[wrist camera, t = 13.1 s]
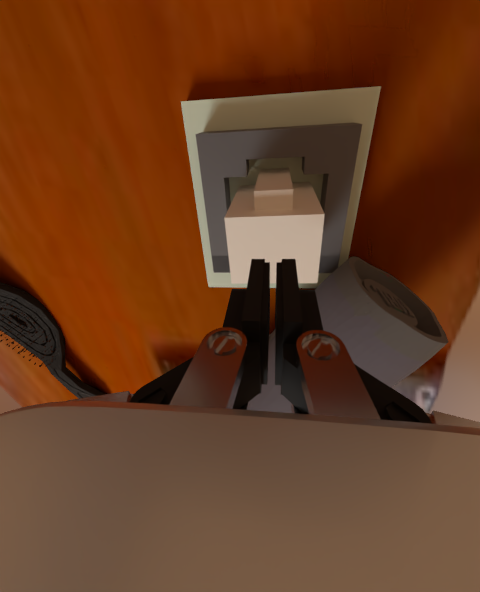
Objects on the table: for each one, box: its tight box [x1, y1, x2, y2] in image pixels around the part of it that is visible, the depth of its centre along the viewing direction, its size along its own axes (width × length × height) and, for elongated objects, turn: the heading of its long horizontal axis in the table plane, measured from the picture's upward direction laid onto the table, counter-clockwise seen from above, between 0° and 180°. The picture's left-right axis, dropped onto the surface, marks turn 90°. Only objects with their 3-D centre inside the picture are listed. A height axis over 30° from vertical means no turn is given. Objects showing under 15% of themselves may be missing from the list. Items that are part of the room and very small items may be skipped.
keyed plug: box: [224, 168, 325, 284], centre depth 17 cm, size 5×5×7 cm
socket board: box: [181, 86, 381, 288], centre depth 20 cm, size 14×12×3 cm
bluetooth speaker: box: [250, 256, 448, 413], centre depth 25 cm, size 23×9×10 cm, turn 152°
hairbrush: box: [0, 282, 106, 399], centre depth 34 cm, size 8×4×25 cm
